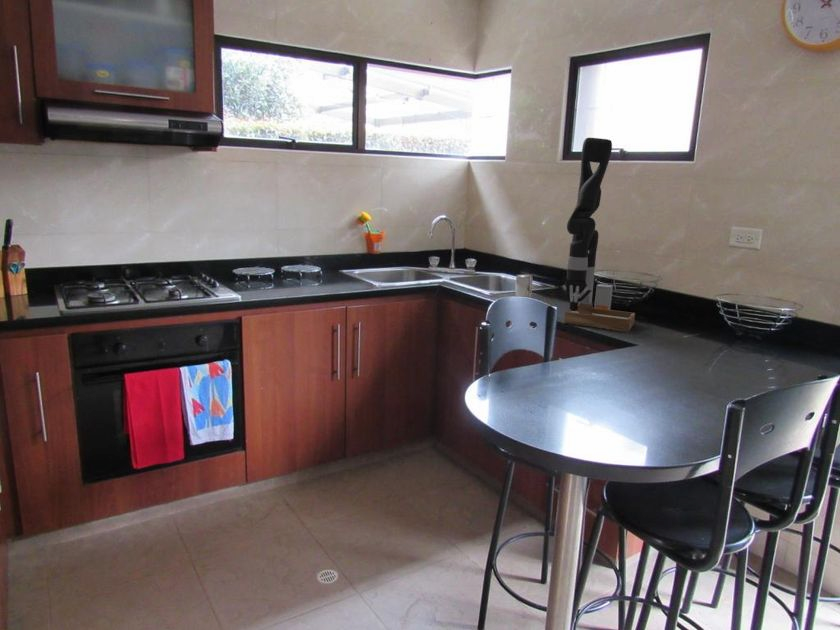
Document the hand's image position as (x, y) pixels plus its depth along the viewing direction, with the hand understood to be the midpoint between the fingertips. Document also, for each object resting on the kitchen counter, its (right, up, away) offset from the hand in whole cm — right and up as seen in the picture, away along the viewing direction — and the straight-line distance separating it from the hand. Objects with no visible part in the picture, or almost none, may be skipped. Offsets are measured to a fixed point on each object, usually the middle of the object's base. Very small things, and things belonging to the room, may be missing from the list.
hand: (573, 310), depth 245 cm
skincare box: (+15, -1, +12) cm, 19 cm away
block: (+4, -1, -2) cm, 5 cm away
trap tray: (+8, -5, -6) cm, 12 cm away
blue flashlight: (-19, 0, +12) cm, 22 cm away
